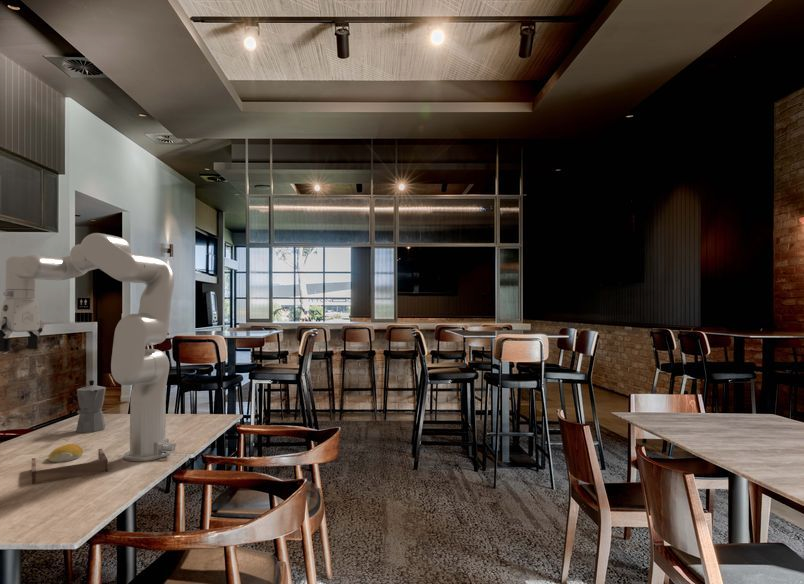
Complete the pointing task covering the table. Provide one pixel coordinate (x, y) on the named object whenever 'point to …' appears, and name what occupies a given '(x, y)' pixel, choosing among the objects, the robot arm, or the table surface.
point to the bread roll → (65, 453)
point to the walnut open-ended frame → (70, 470)
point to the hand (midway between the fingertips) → (19, 350)
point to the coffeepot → (91, 408)
